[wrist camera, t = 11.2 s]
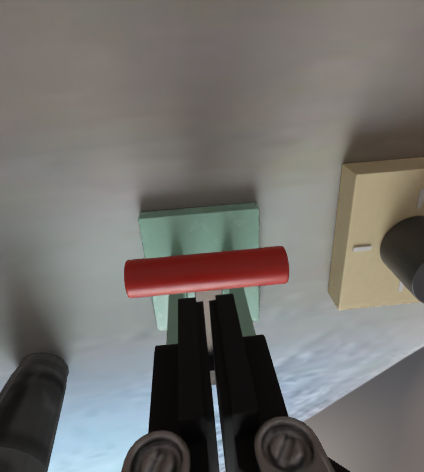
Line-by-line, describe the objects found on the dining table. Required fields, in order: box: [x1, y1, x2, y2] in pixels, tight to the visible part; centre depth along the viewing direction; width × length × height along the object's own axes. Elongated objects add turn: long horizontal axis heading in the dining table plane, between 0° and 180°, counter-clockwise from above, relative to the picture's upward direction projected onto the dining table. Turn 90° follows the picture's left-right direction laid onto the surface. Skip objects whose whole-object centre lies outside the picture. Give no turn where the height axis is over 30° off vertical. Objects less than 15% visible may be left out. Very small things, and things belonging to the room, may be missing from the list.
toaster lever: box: [124, 246, 289, 385], centre depth 18 cm, size 12×6×2 cm, turn 3°
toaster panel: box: [328, 157, 424, 310], centre depth 29 cm, size 12×10×3 cm
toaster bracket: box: [138, 202, 259, 345], centre depth 26 cm, size 11×9×12 cm
